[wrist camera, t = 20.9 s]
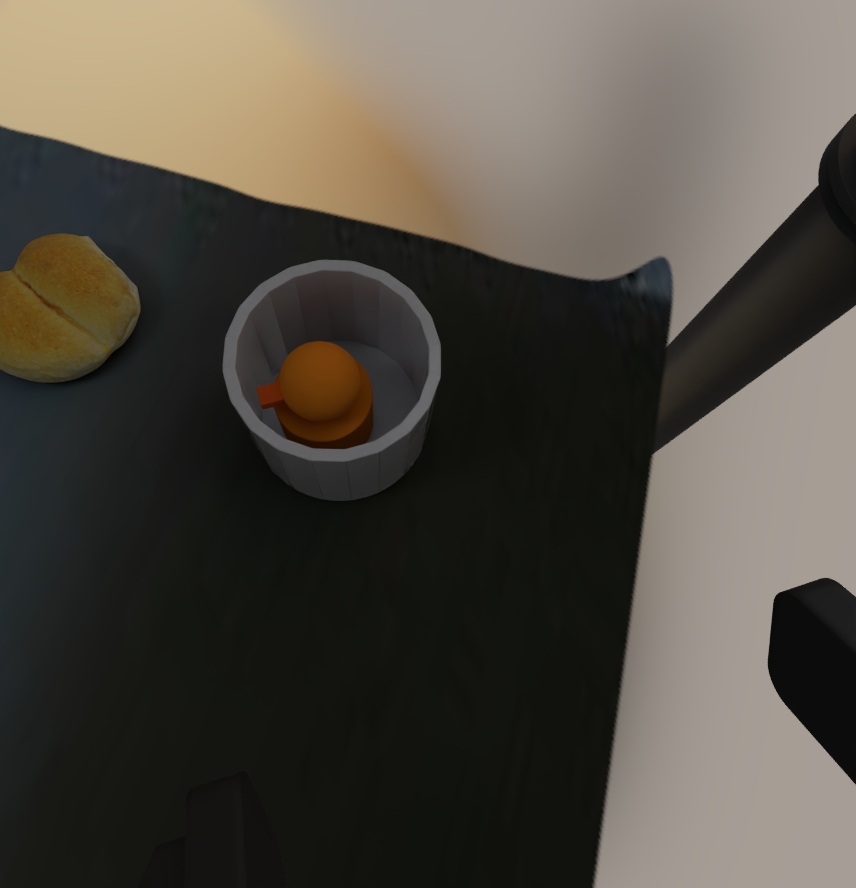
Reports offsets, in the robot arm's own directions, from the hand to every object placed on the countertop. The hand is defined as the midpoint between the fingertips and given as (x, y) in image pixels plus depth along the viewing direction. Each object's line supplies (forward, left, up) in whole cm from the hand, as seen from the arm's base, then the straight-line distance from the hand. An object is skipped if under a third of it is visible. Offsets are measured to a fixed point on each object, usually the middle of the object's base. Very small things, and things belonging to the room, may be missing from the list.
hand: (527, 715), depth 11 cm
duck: (+1, -15, -30) cm, 34 cm away
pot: (0, -15, -31) cm, 34 cm away
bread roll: (+14, -26, -31) cm, 42 cm away
